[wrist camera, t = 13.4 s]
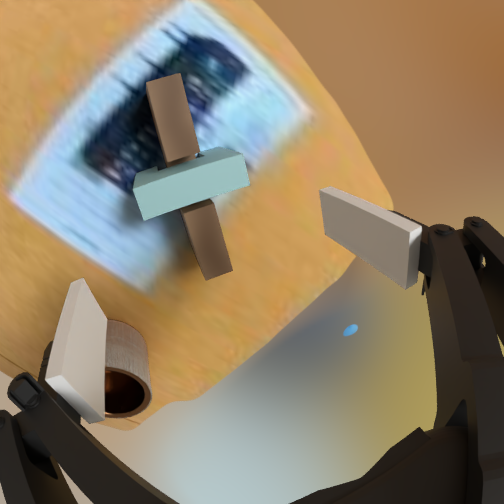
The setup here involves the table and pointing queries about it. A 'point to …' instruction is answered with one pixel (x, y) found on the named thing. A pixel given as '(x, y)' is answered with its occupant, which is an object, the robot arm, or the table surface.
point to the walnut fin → (179, 151)
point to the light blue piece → (189, 181)
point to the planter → (125, 371)
